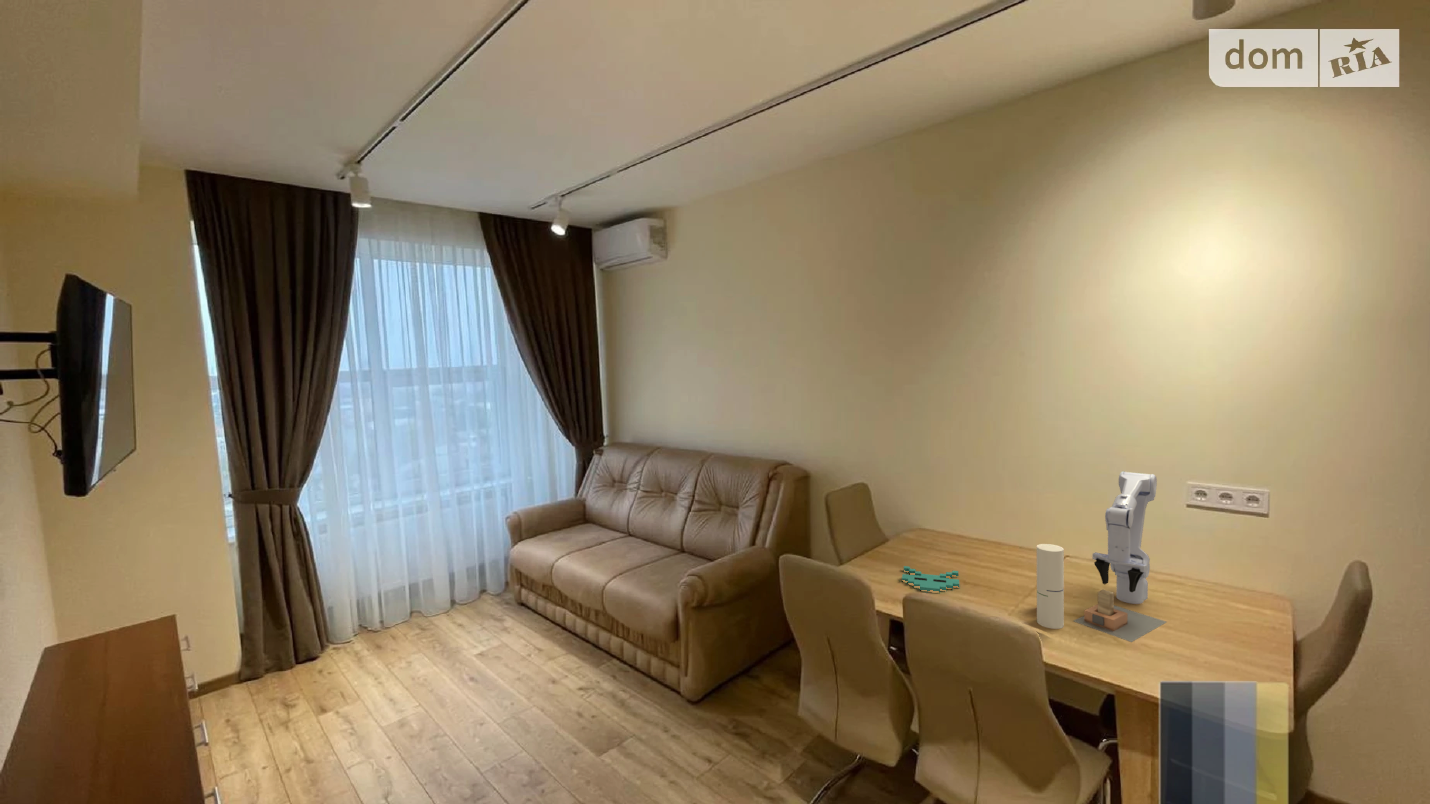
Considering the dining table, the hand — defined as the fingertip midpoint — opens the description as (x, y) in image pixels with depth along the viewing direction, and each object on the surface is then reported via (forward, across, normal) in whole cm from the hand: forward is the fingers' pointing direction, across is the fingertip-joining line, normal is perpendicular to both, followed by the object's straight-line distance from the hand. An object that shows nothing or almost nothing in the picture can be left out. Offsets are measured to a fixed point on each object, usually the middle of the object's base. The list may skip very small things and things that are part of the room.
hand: (1118, 587), depth 177 cm
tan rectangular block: (+8, +1, -10) cm, 13 cm away
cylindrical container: (+10, -8, -24) cm, 27 cm away
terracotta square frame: (+8, +1, -10) cm, 13 cm away
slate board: (+9, +3, -6) cm, 12 cm away
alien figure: (+10, -52, -25) cm, 59 cm away
